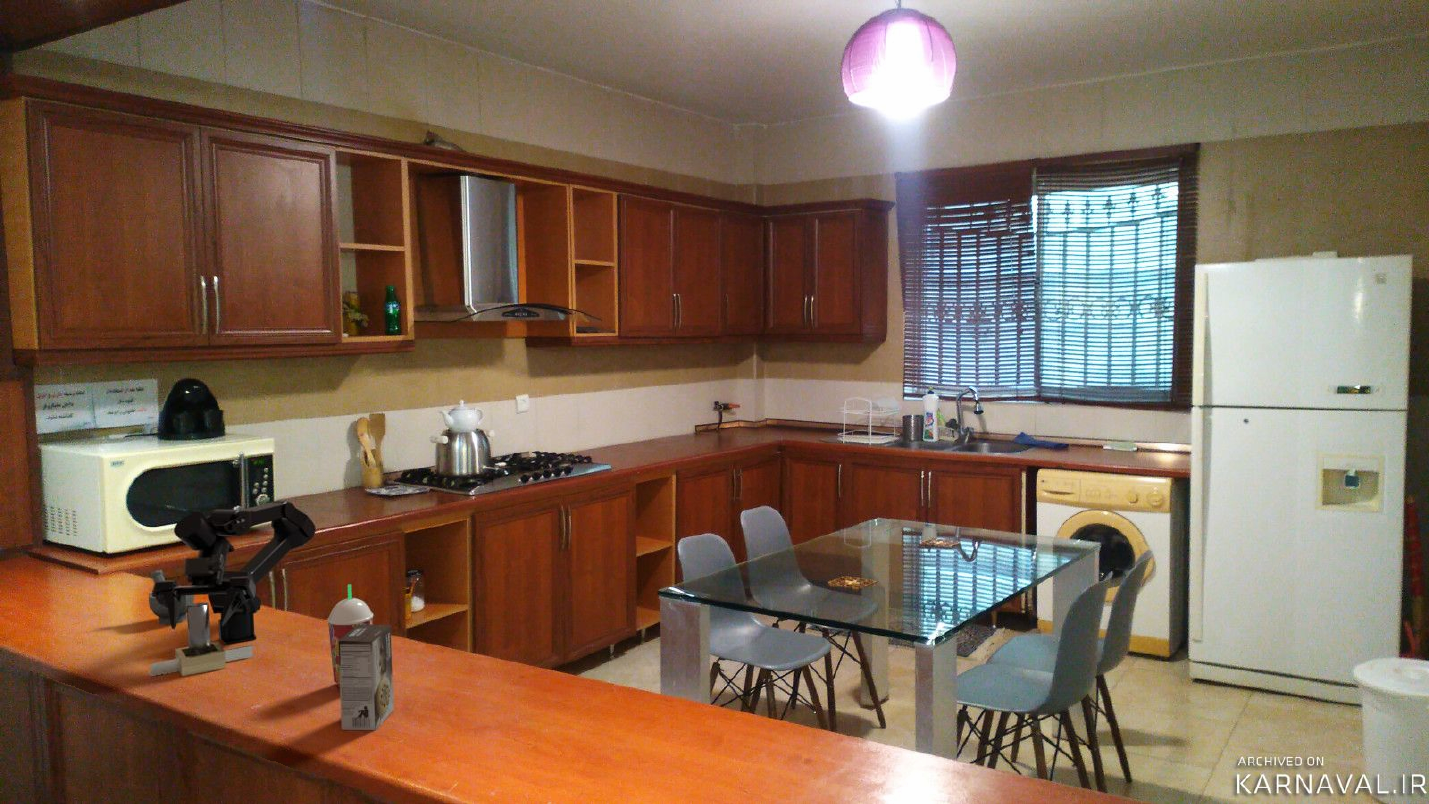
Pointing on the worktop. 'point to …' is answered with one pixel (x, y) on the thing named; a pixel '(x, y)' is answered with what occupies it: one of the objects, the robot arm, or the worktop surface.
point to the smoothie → (346, 625)
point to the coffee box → (366, 677)
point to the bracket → (200, 660)
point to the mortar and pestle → (161, 609)
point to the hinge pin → (198, 629)
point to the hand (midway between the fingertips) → (197, 626)
